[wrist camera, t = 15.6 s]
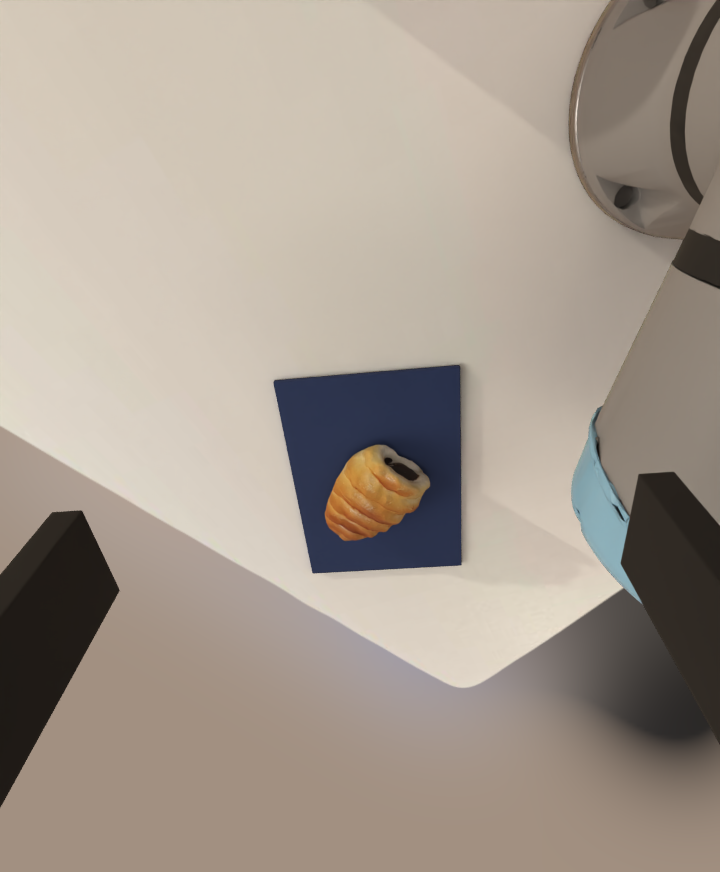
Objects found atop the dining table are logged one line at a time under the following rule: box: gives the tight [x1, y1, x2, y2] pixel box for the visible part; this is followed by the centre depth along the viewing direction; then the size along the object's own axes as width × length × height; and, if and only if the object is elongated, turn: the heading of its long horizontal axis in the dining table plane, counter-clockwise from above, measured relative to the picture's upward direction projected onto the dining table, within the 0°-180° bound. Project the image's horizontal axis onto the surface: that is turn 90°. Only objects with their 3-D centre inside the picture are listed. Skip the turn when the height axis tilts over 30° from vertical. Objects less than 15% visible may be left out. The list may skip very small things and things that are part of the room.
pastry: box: [325, 445, 430, 541], centre depth 43 cm, size 9×7×4 cm
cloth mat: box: [274, 365, 461, 573], centre depth 45 cm, size 14×20×1 cm
